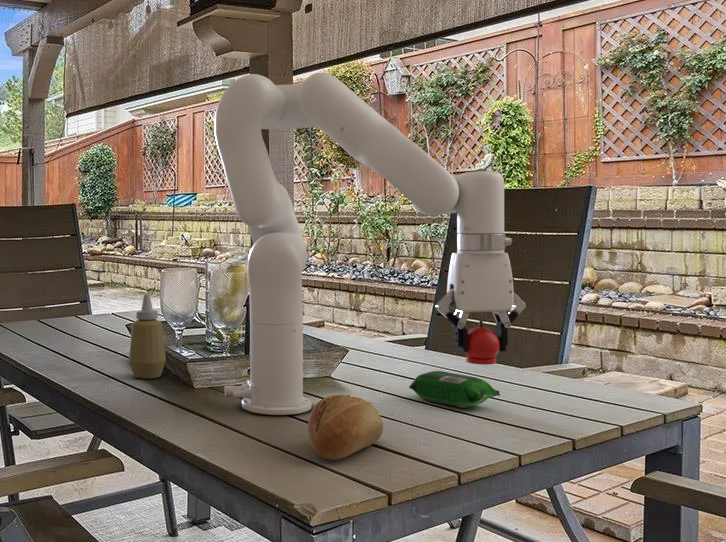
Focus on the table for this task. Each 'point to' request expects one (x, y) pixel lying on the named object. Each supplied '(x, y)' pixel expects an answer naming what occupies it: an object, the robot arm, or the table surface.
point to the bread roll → (343, 426)
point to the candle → (482, 345)
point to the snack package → (452, 389)
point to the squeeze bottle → (147, 343)
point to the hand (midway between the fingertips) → (480, 349)
